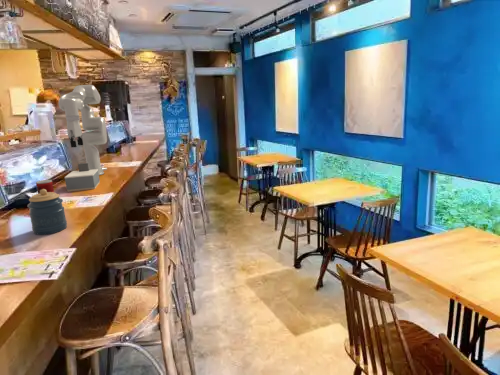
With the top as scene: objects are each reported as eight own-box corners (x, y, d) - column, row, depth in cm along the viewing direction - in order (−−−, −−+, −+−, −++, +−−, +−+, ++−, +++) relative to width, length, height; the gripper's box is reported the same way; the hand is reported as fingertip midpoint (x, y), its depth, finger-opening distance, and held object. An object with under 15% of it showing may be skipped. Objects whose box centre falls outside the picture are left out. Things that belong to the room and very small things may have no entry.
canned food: (58, 198, 210) (54, 179, 207) (49, 202, 202) (45, 182, 199) (45, 198, 210) (42, 179, 208) (36, 202, 203) (32, 182, 200)
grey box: (74, 184, 244) (72, 172, 242) (99, 182, 247) (98, 170, 245) (67, 191, 225) (64, 178, 223) (95, 188, 228) (93, 176, 226)
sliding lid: (72, 172, 242) (70, 163, 241) (98, 170, 245) (96, 161, 244) (64, 178, 223) (63, 169, 222) (92, 175, 226) (91, 166, 225)
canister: (59, 222, 164) (52, 184, 160) (73, 227, 156) (66, 187, 152) (27, 231, 155) (19, 190, 150) (40, 237, 147) (32, 194, 142)
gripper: (73, 118, 238) (77, 144, 243) (60, 120, 222) (65, 148, 226) (84, 117, 238) (88, 144, 243) (72, 119, 222) (77, 147, 226)
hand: (77, 146), depth 234 cm, fingers open, 9 cm apart
